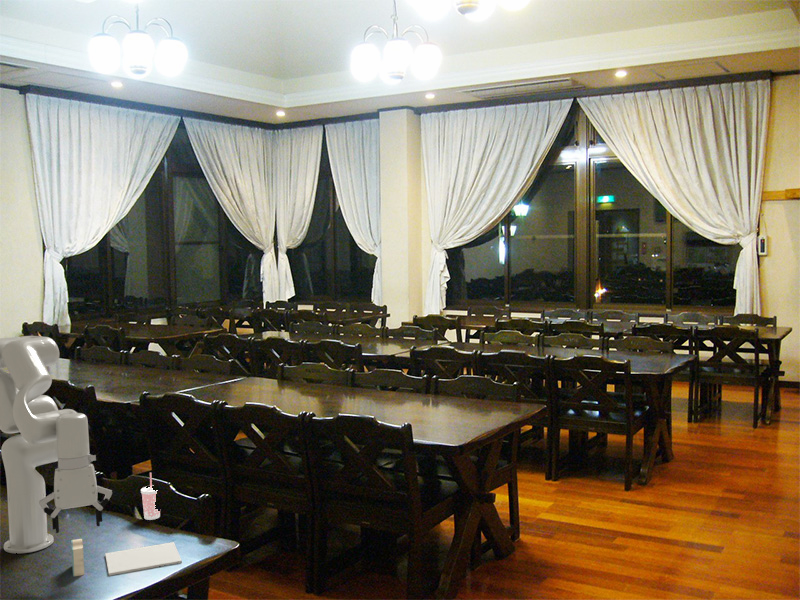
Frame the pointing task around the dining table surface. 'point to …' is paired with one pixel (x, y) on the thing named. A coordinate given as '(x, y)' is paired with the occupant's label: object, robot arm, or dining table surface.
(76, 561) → the tan notched wooden block
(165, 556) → the off-white board
